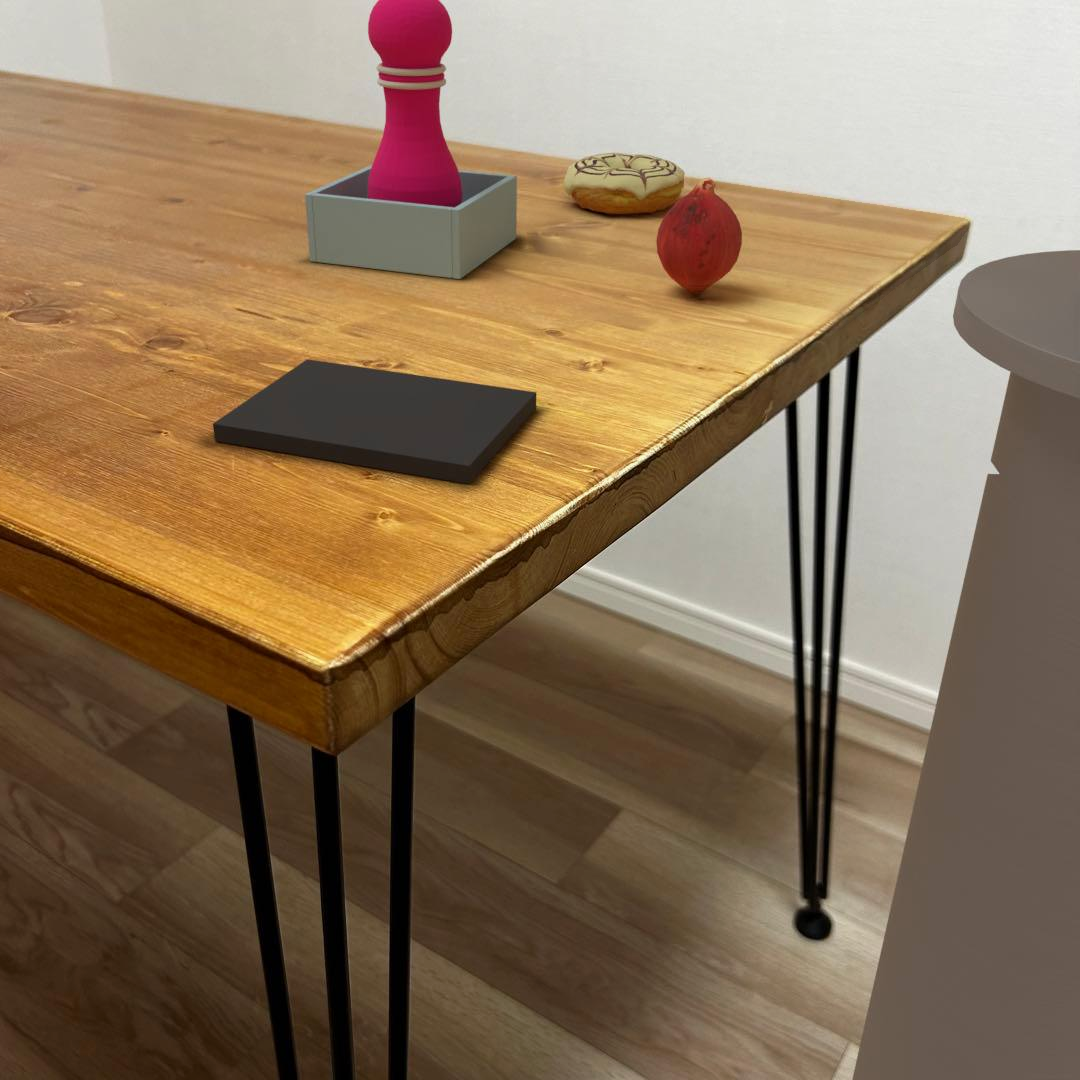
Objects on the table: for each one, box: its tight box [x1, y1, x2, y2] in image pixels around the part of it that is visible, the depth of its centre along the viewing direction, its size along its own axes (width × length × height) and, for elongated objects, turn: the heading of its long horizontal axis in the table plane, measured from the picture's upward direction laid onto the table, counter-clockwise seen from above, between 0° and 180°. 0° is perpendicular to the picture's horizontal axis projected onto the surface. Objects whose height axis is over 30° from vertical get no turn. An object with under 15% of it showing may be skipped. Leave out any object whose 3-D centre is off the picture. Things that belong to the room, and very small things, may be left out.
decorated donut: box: [563, 152, 685, 215], centre depth 107 cm, size 10×11×4 cm
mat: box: [212, 358, 537, 485], centre depth 63 cm, size 14×10×1 cm
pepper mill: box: [367, 0, 462, 208], centre depth 88 cm, size 7×7×20 cm
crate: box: [304, 164, 518, 280], centre depth 92 cm, size 12×12×5 cm
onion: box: [655, 177, 743, 295], centre depth 82 cm, size 6×6×8 cm
